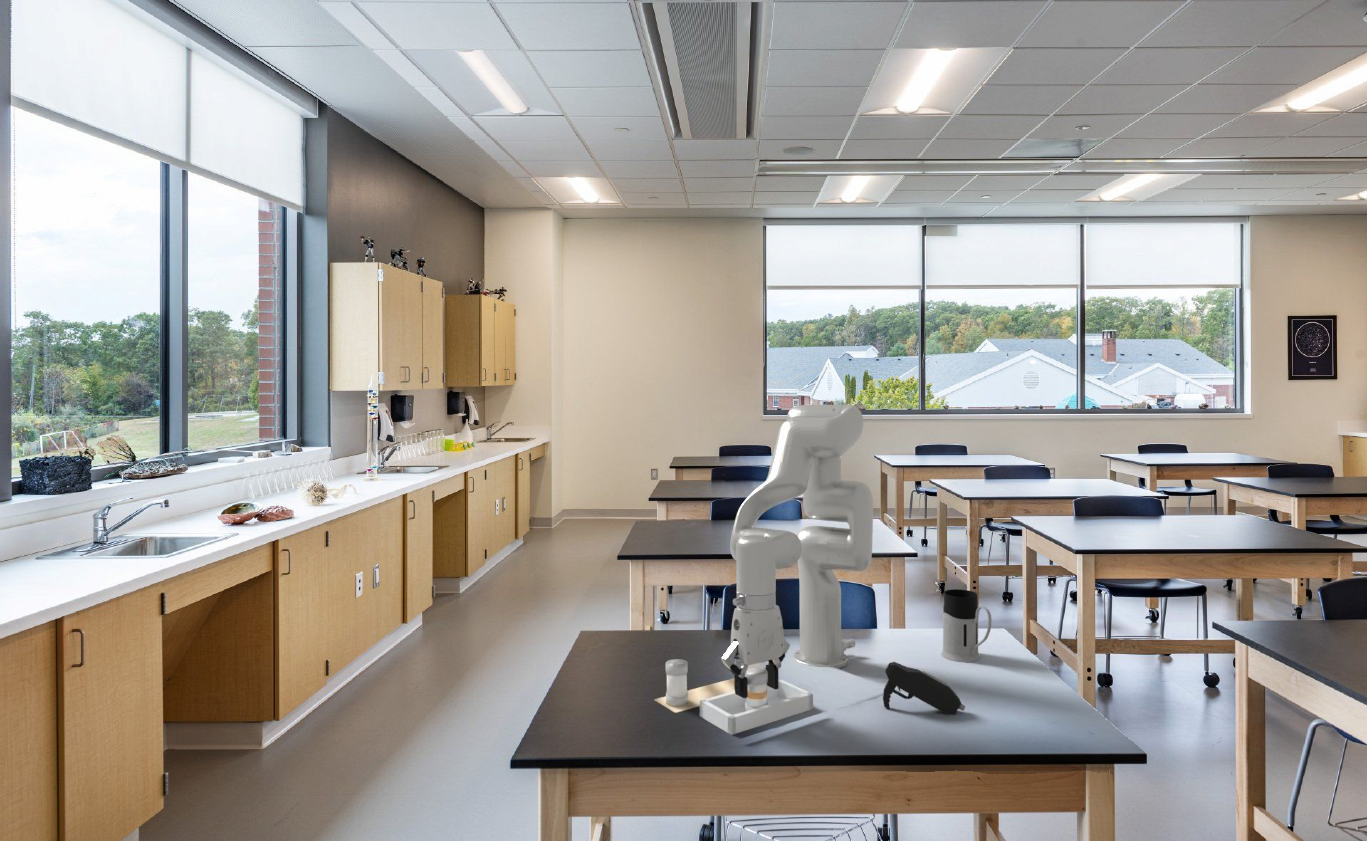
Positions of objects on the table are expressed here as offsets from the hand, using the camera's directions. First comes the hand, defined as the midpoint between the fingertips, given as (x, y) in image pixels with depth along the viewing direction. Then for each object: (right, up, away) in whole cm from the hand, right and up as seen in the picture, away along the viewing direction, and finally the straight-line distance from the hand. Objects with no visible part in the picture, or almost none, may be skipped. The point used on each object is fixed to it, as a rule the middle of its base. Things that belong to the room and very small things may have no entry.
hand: (756, 690), depth 151 cm
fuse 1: (-16, -4, +5) cm, 17 cm away
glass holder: (+52, -4, +32) cm, 61 cm away
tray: (0, -5, 0) cm, 5 cm away
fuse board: (-7, -5, +11) cm, 14 cm away
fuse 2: (+1, -4, +17) cm, 17 cm away
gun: (+33, -5, +3) cm, 34 cm away
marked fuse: (0, -4, 0) cm, 4 cm away
